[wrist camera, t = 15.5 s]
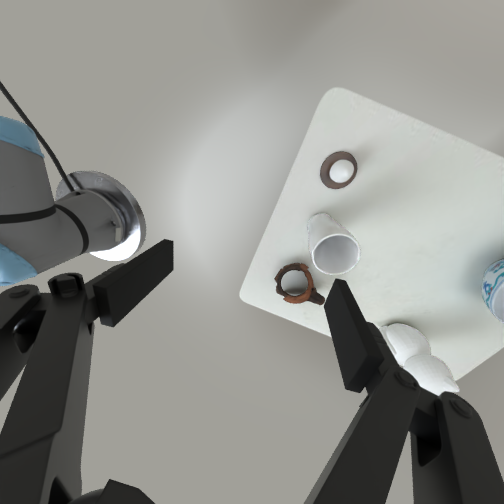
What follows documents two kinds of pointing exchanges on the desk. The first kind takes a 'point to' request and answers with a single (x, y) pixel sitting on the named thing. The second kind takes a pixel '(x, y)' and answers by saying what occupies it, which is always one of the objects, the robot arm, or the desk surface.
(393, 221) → the desk surface
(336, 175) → the egg
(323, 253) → the drinking glass
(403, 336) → the cat figurine
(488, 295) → the chinaware
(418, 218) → the desk surface
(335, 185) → the coaster
